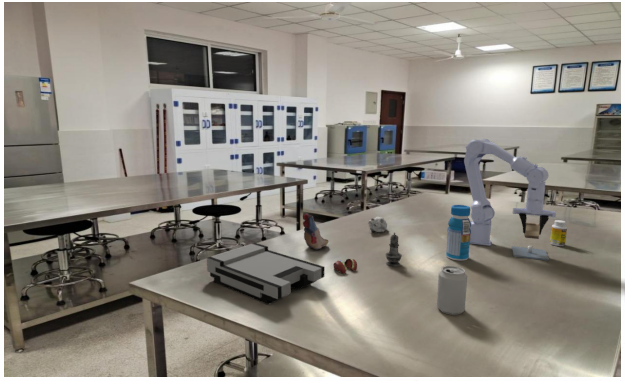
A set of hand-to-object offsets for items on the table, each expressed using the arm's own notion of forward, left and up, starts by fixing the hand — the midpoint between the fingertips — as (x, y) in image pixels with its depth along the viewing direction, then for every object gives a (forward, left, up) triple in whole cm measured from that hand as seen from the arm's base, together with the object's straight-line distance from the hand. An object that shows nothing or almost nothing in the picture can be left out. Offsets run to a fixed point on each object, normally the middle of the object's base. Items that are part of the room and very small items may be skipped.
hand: (531, 233), depth 157 cm
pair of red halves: (-61, -45, -9) cm, 77 cm away
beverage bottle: (-26, -16, -9) cm, 32 cm away
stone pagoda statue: (-47, -33, -9) cm, 58 cm away
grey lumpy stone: (-63, +7, -9) cm, 64 cm away
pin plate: (0, 0, -8) cm, 8 cm away
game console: (-81, -67, -9) cm, 105 cm away
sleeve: (0, 0, -1) cm, 1 cm away
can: (-25, -62, -9) cm, 67 cm away
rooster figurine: (-80, -27, -9) cm, 85 cm away
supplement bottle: (+12, +18, -9) cm, 23 cm away
